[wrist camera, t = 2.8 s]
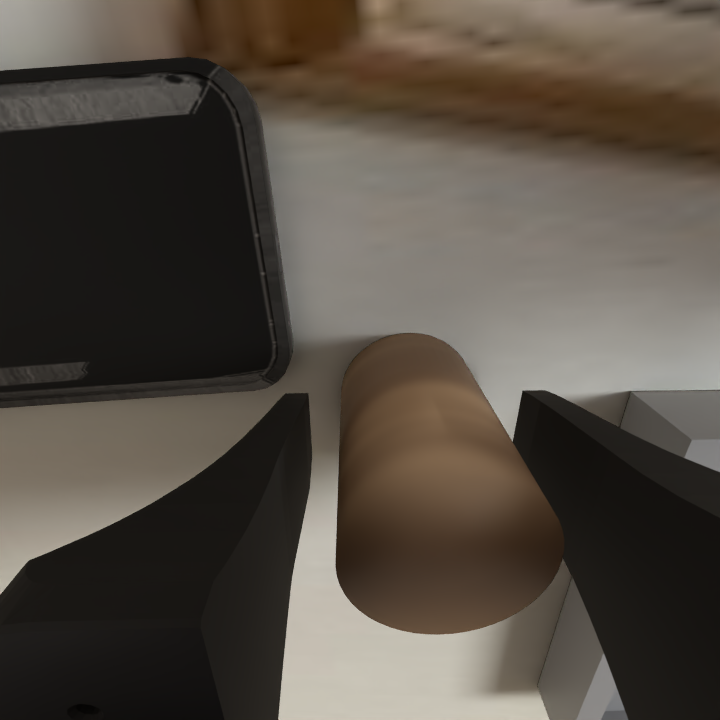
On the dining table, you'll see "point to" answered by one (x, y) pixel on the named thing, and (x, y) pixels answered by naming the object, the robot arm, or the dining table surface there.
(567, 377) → the dining table surface
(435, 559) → the brown rounded cylinder
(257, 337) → the phone
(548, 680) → the housing
